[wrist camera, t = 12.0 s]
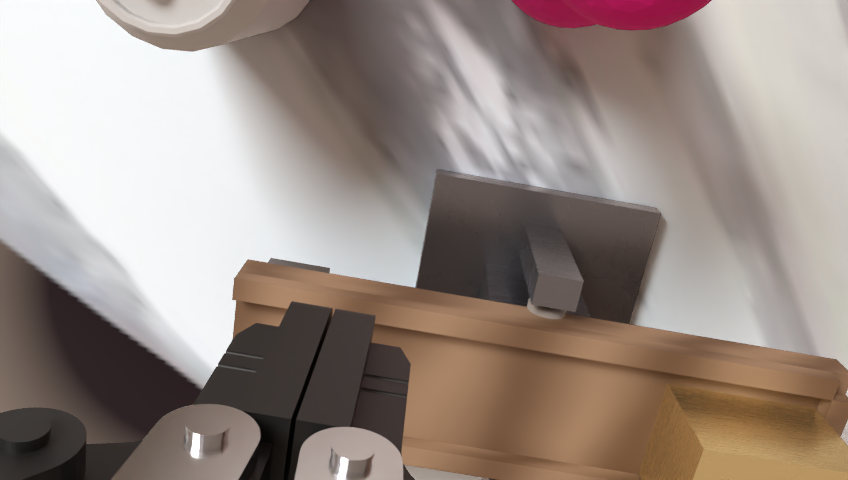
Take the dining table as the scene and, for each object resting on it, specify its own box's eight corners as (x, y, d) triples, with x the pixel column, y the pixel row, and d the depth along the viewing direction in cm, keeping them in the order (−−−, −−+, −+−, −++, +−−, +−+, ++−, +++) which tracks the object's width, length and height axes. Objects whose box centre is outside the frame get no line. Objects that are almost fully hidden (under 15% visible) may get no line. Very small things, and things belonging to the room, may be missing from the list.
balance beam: (809, 325, 38) (864, 379, 33) (755, 465, 40) (798, 533, 35) (263, 232, 37) (234, 272, 32) (247, 381, 40) (219, 439, 35)
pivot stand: (656, 208, 40) (706, 264, 32) (584, 454, 45) (612, 555, 37) (437, 169, 40) (433, 216, 32) (390, 421, 45) (377, 516, 37)
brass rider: (815, 408, 34) (874, 477, 29) (779, 496, 36) (830, 575, 31) (667, 383, 34) (703, 449, 29) (638, 473, 36) (668, 548, 31)
